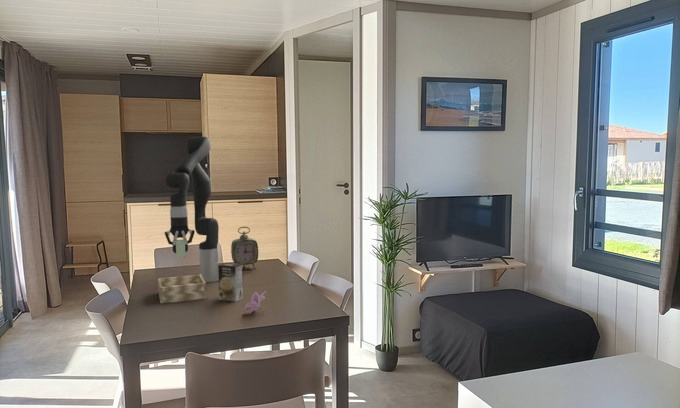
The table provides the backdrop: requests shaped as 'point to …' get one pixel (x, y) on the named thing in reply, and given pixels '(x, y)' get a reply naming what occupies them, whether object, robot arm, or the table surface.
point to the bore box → (181, 288)
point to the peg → (180, 248)
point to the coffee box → (230, 281)
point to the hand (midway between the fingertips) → (180, 252)
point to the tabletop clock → (244, 250)
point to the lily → (255, 302)
